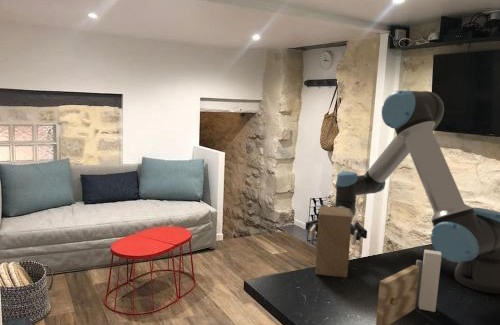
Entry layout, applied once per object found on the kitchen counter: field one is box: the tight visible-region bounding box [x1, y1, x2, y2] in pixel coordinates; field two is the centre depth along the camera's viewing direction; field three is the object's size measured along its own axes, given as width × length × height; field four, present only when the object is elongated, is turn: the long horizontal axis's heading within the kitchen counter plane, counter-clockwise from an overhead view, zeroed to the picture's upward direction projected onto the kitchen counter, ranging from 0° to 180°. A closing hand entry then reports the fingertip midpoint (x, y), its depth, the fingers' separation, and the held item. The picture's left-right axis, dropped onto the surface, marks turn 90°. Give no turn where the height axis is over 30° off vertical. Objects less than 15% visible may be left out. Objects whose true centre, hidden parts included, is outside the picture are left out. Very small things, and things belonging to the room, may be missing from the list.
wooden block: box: [314, 205, 352, 278], centre depth 129 cm, size 10×10×20 cm
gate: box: [375, 264, 419, 325], centre depth 102 cm, size 16×3×12 cm, turn 130°
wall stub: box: [415, 249, 442, 313], centre depth 107 cm, size 6×2×16 cm, turn 70°
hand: (331, 237), depth 126 cm, fingers open, 13 cm apart
